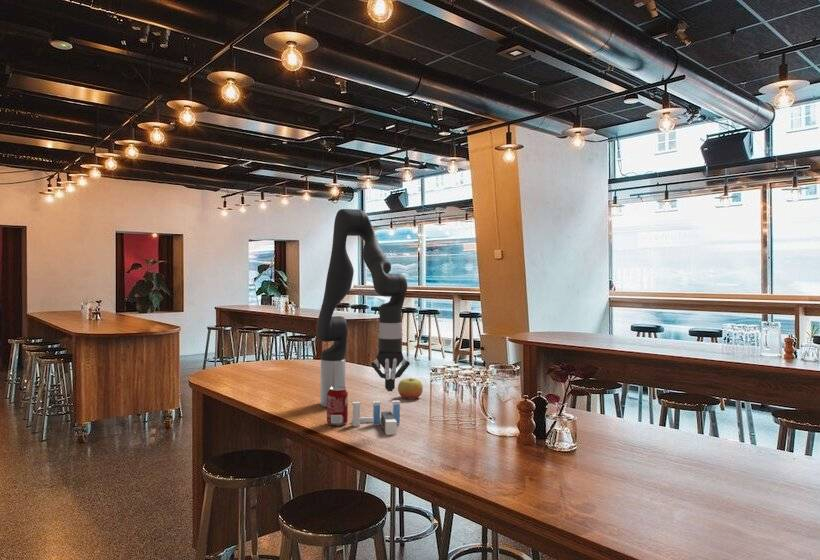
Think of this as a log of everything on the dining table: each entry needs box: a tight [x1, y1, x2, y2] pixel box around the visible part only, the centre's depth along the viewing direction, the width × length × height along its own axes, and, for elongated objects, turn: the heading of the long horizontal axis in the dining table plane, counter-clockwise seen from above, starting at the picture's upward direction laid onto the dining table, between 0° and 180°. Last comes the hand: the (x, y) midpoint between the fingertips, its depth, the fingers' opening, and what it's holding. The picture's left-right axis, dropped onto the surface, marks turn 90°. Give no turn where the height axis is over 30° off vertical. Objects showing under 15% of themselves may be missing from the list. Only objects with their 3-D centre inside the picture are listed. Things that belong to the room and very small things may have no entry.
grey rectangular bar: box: [380, 410, 398, 436], centre depth 181 cm, size 13×3×4 cm, turn 10°
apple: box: [397, 378, 424, 400], centre depth 225 cm, size 10×10×8 cm
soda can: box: [326, 386, 349, 427], centre depth 186 cm, size 7×7×12 cm
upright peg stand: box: [351, 399, 401, 427], centre depth 187 cm, size 5×16×8 cm, turn 101°
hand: (389, 390), depth 179 cm, fingers closed
